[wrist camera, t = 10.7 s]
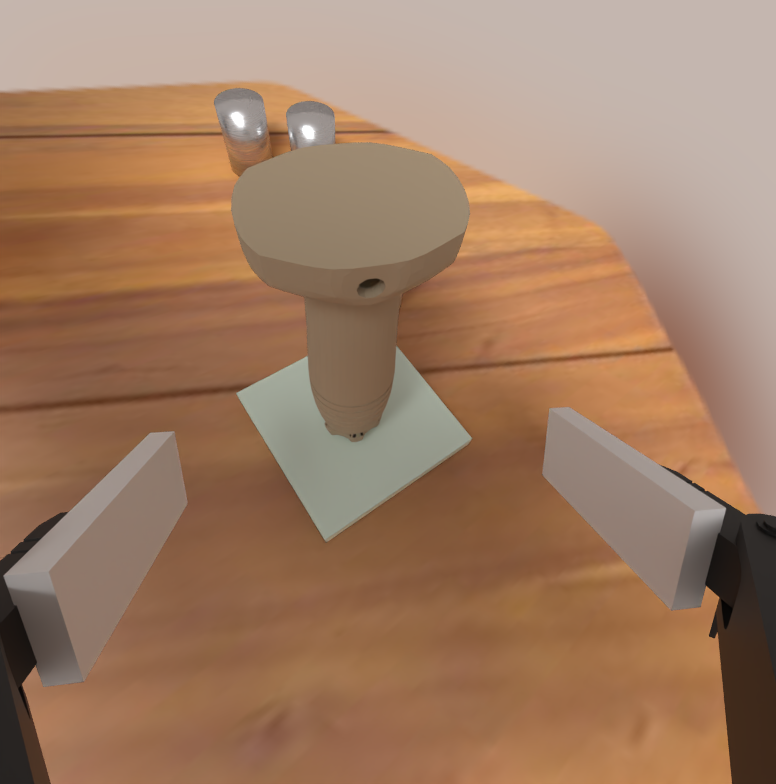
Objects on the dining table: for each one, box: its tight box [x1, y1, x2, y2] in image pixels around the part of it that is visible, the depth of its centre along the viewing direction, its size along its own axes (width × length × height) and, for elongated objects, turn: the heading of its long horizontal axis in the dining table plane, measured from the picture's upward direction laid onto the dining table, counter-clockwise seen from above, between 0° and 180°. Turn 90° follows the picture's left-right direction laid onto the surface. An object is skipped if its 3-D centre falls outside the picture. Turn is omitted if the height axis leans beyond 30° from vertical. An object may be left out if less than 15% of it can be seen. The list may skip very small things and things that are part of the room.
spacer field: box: [214, 88, 403, 309], centre depth 31 cm, size 21×8×5 cm, turn 35°
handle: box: [231, 143, 470, 442], centre depth 18 cm, size 5×6×15 cm
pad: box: [236, 345, 472, 542], centre depth 25 cm, size 10×10×1 cm
